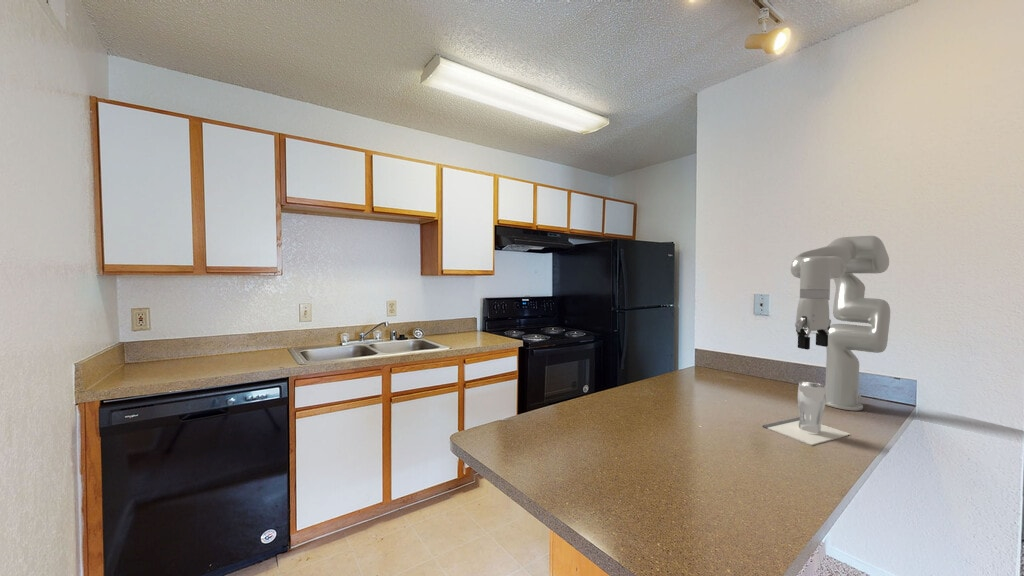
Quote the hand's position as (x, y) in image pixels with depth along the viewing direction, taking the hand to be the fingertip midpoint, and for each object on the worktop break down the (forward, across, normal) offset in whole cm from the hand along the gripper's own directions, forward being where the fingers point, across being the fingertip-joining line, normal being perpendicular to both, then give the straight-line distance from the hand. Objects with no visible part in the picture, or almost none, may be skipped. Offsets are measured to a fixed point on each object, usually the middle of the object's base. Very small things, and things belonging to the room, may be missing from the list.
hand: (812, 347), depth 120 cm
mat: (+27, +4, +1) cm, 27 cm away
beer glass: (+26, +4, +2) cm, 27 cm away
